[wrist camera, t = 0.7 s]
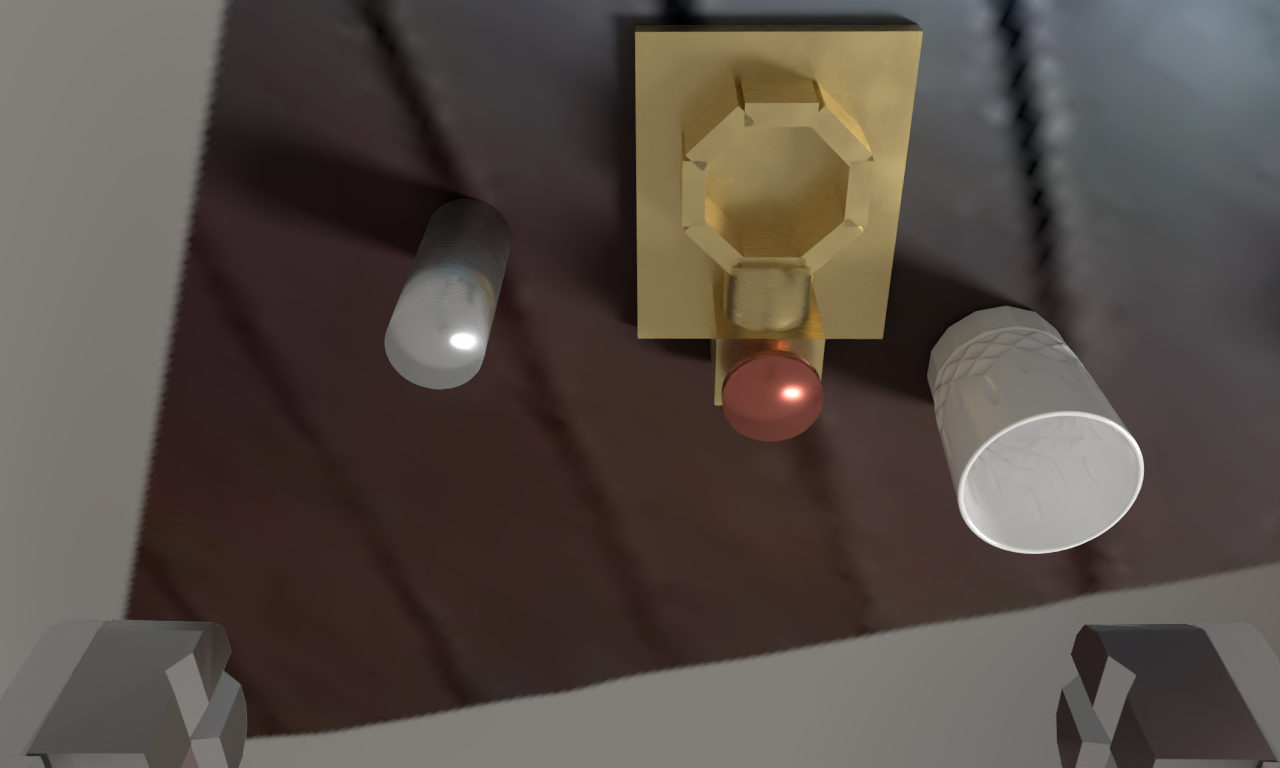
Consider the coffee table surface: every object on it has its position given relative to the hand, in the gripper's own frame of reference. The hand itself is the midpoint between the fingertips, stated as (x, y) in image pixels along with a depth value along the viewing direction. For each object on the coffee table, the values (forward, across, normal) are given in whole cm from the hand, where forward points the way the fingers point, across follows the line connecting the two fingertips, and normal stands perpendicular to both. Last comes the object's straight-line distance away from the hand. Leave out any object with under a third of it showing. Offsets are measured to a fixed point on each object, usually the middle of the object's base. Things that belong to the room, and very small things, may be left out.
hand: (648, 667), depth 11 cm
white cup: (+42, -17, +22) cm, 50 cm away
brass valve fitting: (+41, -5, +13) cm, 44 cm away
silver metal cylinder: (+41, +9, +15) cm, 45 cm away
